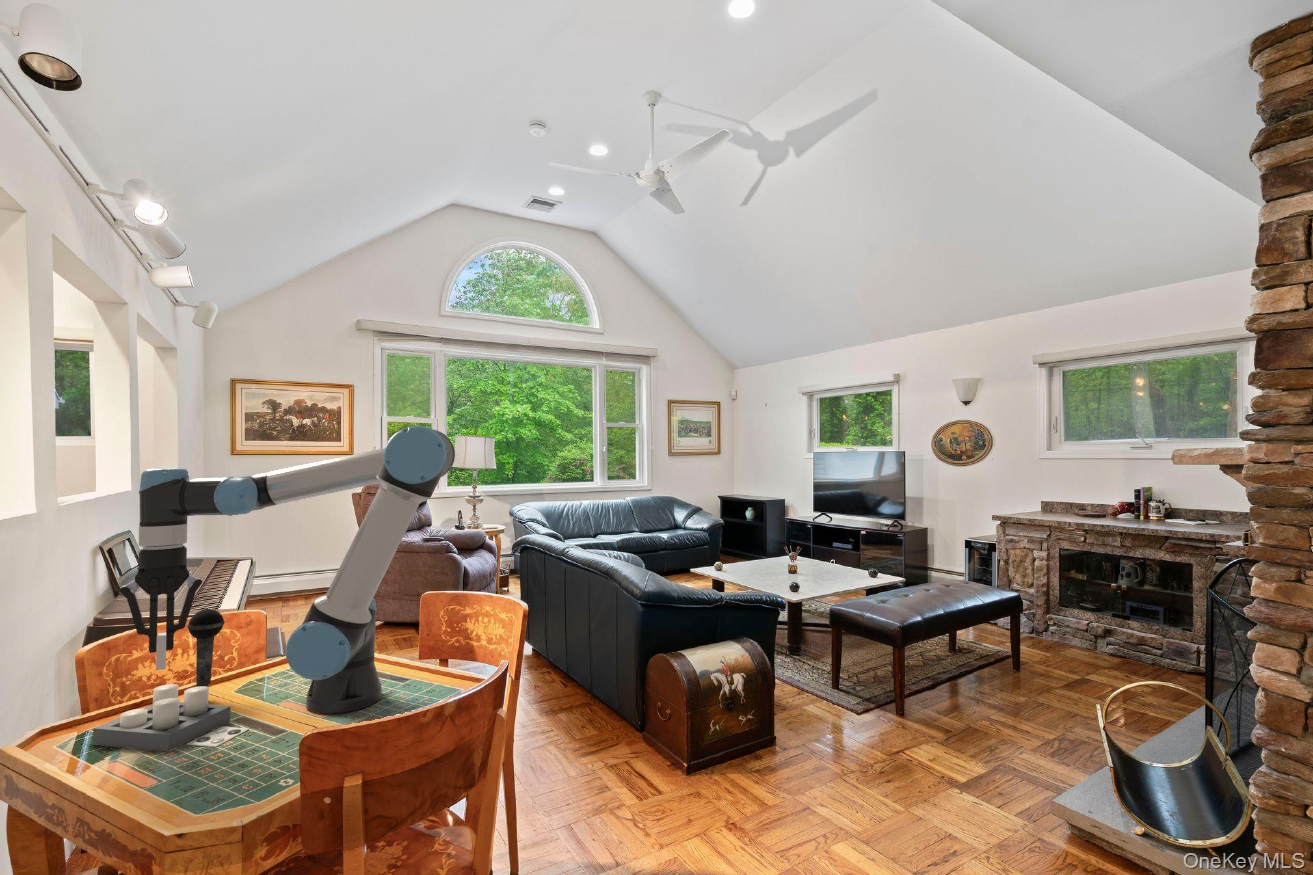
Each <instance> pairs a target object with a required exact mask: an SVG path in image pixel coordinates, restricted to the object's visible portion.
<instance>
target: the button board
mask: <svg viewBox="0 0 1313 875" xmlns="http://www.w3.org/2000/svg"><path fill="white" fill-rule="evenodd" d="M183 707H184V701H182V702H181V701H180V708H179V724H178V725H177V726H175V727H173V728H170V729H166V730H153V729H152V721H153V713H152V709H153V704H151V705H149V706H146V707H144V708H142V709H147V722H146V723H144V724H141V725H139V726H137V727H134V728H123V727H120V717H119V718H117V719H114V720H112V721H109V722H106V723H104V724H101V725H99V726H96V727H93V730H92V731H93V736H92V745H93V746H102V747H103V746H104V747H114V748H125V749H137V750H147V751H156V752H170V751H172V750H174V749H176V748H178V747H180V746H182V745H184V744H186V743H189V742H191V741H193V740H195V739H197V738H199V737H202V736H204V735H206V734H208V733H210V732H212V731H214V730H216V729H218V728H220V727H222V726H224V724H227V723H229V722H230V721H231V708H232V707H231V705H220V704H209V703H208V711H207V712H206V713H204V714H201V715H197V716H190V717H188V716H183Z"/></svg>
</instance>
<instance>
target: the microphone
mask: <svg viewBox="0 0 1313 875" xmlns="http://www.w3.org/2000/svg"><path fill="white" fill-rule="evenodd" d="M186 625H187V626H186V628H187V630H188V633H189V635H191V636H192V637H193V638H194V639H196V656H195V657H196V662H195V663H196V665H195V666H196V670H195V671H196V673H195V674H196V675H195V676H196V678H195V680H196V682H195V683H196V686H195V687H200V686H206V687H209V685H211V682H212V669H213V657H214V647H215V646H214V645H215V644H214V643H215V637H216V636H218V634H220V632H221V631H222V629H223V627H224V625H225V619H224V616H223V615H222V613H221V612H220V611H218V610H216V609H212V608H206V609H202V610H199V611H197V612H196V613H195V614H193V615H192V616H191V617H190V619H189V621H188V624H186Z"/></svg>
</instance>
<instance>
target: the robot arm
mask: <svg viewBox="0 0 1313 875" xmlns="http://www.w3.org/2000/svg"><path fill="white" fill-rule="evenodd" d="M455 457H456V450H455V446H454V443H453V442H452V441H451V439H450V438H449V437H448V436H447V435H446V434H445V433H443V432H441V431H440V430H437V429H433V428H432V427H428V426H425V425H411V426H408V427H405V428H402V429H400V430H398V431H396V433H394V434H392V436H391V437H390V438H389V440H388V441H387V443H386V445H385V447H384V448H379V449H374V450H370V451H365V452H361V453H356V454H350V455H346V456H341V457H335V458H332V459H326V460H321V461H317V462H312V463H307V464H302V465H296V466H293V467H288V468H282V469H278V470H273V471H268V472H263V473H258V474H253V475H248V476H229V477H228V476H225V477H197V478H195V477H194V478H193V477H190V475H189V471H188V470H187V469H186V468H147V469H145V470H143V471H142V472H141V474H140V483H139V484H140V485H139V490H138V494H139V524H138V525H139V526H138V546H139V547H140V548H141V549H139V551H138V553H137V554H138V555H137V556H138V557H137V560H138V561H137V563H138V566H137V574H136V575H135V576H134V580H132V581H130V582H128V583H127V584H123V585H122V586H121V587H120V589H119V591H120V594H122V596H124V598H125V599H126V600H127V604H128V607H129V610H130V613H131V617H132V620H133V623H134V627H135V630H136V633H137V635H140V636H141V635H144V636H147V637H148V652H149V653H150V654H153V653H156V654H155V655H156V657H155V661H156V662H155V663H156V664H155V668H156V669H155V671H160V670H161V671H162V670H166V669H167V651H172V650H173V649H174V644H175V642H174V641H175V637H174V636H175V633H176V632H178V631H179V630H183V629H184V628H186V625H187V622H188V618H189V614H190V612H191V609H192V606H193V601H194V598H195V595H196V592H197V591H198V589H199V588H200V586H202V584H203V579H202V577H196V576H194V575H191V574H190V571H189V569H188V567H187V562H188V560H187V558H188V548H187V547H186V546H185V544H187V542H188V517H193V516H229V517H230V516H231V517H232V516H238V515H246V514H247V515H248V514H250V513H251V512H252V511H258V510H263V509H265V508H268V507H273V506H276V505H277V506H278V505H281V504H286V503H291V502H297V501H300V500H301V501H302V500H305V499H306V500H307V499H312V498H315V497H319V496H320V497H321V496H324V495H329V494H333V493H338V492H343V491H346V490H347V491H348V490H352V489H353V490H354V489H357V488H362V487H366V486H371V485H376V484H378V485H379V488H378V490H377V492H376V494H375V496H374V498H373V499H372V502H371V503H370V505H369V507H368V510H367V511H366V514H365V516H364V518H363V520H362V522H361V524H360V526H359V528H358V530H357V531H356V534H355V536H354V538H353V540H352V542H351V543H350V546H349V548H348V550H347V552H346V554H345V556H344V558H343V559H342V562H341V564H340V565H339V568H338V570H337V571H336V574H335V575H334V578H333V580H332V581H331V583H330V585H329V587H328V590H327V592H326V593H325V594H322V595H320V596H318V597H316V598H314V600H313V602H312V604H311V605H310V608H309V610H308V612H307V614H306V616H305V617H304V620H303V622H302V624H301V625H299V626H298V627H296V628H295V629H294V630H293V632H292V633H291V634H290V636H289V638H288V639H287V641H286V645H285V658H286V661H287V664H288V665H289V667H290V669H291V670H292V671H293V672H294V673H295V674H297V675H298V676H300V677H301V678H304V679H306V680H312V681H311V682H310V685H309V689H308V691H307V694H306V699H305V700H306V701H305V707H306V709H307V710H308V711H310V712H311V713H312V712H313V713H317V714H329V715H330V714H332V715H333V714H341V713H342V714H343V713H348V712H353V711H358V710H361V709H365V708H369V707H370V706H372V705H374V704H376V703H377V702H378V700H379V699H380V700H381V698H382V690H383V687H382V683H381V680H380V677H379V674H378V671H377V667H376V665H375V650H376V649H375V648H376V624H377V620H376V619H377V603H376V602H377V601H376V599H375V598H374V597H375V595H376V593H377V591H378V590H379V587H380V585H381V583H382V580H383V579H384V577H385V575H386V573H387V571H388V568H389V567H390V565H391V563H392V560H393V559H394V556H395V554H396V552H397V550H398V549H399V546H400V544H401V542H402V539H403V538H404V536H405V534H406V532H407V530H408V528H409V526H410V523H411V521H412V520H413V518H414V515H415V514H416V512H417V510H418V507H419V505H420V504H421V503H422V502H425V501H428V500H430V499H431V497H432V496H433V494H434V492H435V489H436V487H438V483H439V482H440V481H441V478H442V477H444V476H445V475H447V473H448V472H449V471H450V470H451V469H452V467H453V465H454V463H455V459H456V458H455ZM186 581H187V582H186ZM185 582H186V583H187V584H186V587H187V588H188V589H187V592H186V595H185V598H184V602H183V606H182V607H181V610H180V615H179V618H178V621H177V622H175V593H177V591H178V590H179V589H180V588H181V587H182V585H184V584H185ZM137 586H139V587H140V589H142V590H143V591H144V592H145V593H146V594H147V595H149V620H148V623H149V624H148V626H146V625H145V621H144V619H143V616H142V612H141V608H140V606H139V602H138V599H137V595H136V594H135V593H137V591H138V589H137ZM161 595H166V607H165V608H166V610H165V611H166V614H165V615H166V617H165V618H166V619H165V621H166V624H165V632H158V615H159V614H158V612H159V611H158V608H159V605H158V604H159V596H161ZM380 697H381V698H380ZM380 700H379V701H380ZM376 701H377V702H376ZM375 702H376V703H375Z"/></svg>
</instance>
